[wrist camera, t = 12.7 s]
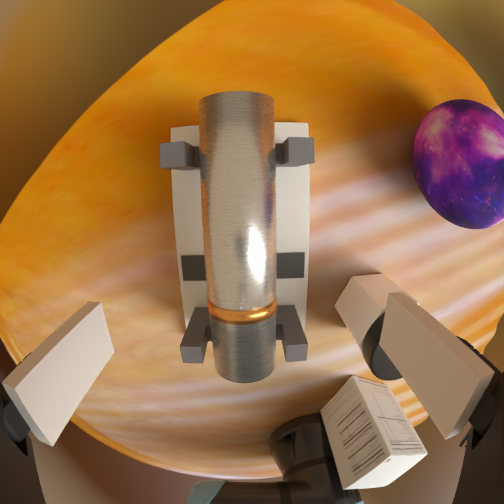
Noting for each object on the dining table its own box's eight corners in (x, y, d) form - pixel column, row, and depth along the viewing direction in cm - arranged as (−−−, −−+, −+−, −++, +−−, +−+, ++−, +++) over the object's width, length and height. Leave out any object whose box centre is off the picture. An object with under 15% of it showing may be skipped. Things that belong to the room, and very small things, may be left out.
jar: (367, 336, 36) (402, 389, 24) (323, 318, 35) (352, 375, 23) (401, 284, 34) (451, 325, 22) (359, 260, 33) (407, 298, 21)
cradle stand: (302, 332, 35) (317, 380, 25) (190, 335, 35) (173, 383, 25) (305, 125, 28) (330, 103, 19) (174, 130, 28) (142, 111, 19)
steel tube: (283, 353, 27) (262, 389, 22) (231, 342, 30) (203, 373, 24) (283, 106, 21) (257, 86, 16) (221, 114, 23) (183, 100, 18)
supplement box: (318, 410, 40) (339, 491, 23) (350, 373, 38) (388, 455, 21) (358, 418, 41) (385, 488, 25) (389, 384, 39) (430, 453, 22)
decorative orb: (433, 93, 27) (506, 70, 12) (479, 178, 30) (551, 189, 15) (368, 146, 29) (447, 131, 14) (425, 239, 32) (501, 274, 18)
